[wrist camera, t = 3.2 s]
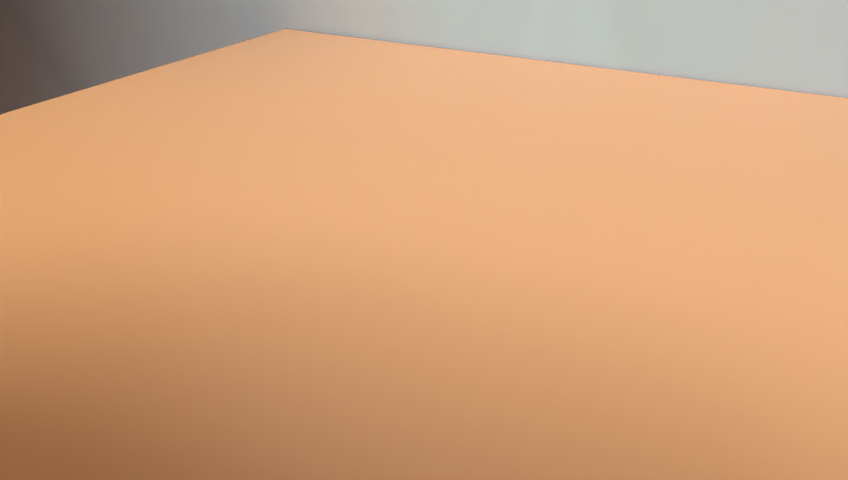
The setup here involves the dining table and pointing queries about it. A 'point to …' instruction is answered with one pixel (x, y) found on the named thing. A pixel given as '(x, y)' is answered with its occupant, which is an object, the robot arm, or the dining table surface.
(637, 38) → the dining table surface
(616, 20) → the dining table surface
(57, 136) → the tan wooden brick
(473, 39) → the dining table surface
